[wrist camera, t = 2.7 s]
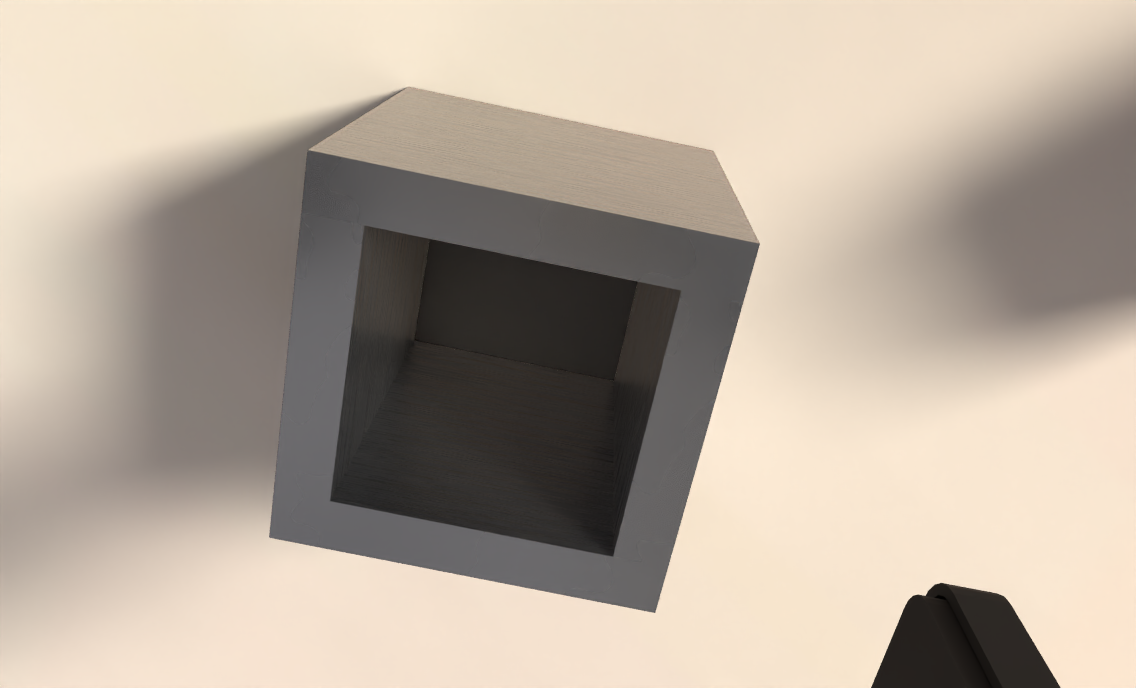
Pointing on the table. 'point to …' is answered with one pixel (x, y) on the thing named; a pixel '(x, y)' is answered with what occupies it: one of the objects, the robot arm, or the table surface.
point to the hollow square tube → (496, 385)
